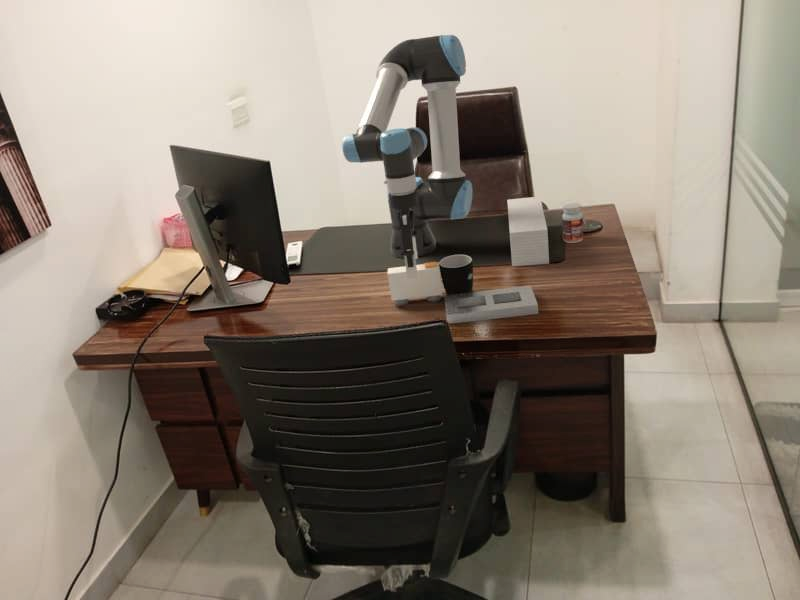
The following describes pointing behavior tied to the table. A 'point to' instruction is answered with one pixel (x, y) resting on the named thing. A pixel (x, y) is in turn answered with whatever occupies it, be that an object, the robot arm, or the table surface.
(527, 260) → the stack of papers
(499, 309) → the rail
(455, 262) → the mug
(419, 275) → the white block
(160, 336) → the table surface
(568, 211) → the pill bottle
